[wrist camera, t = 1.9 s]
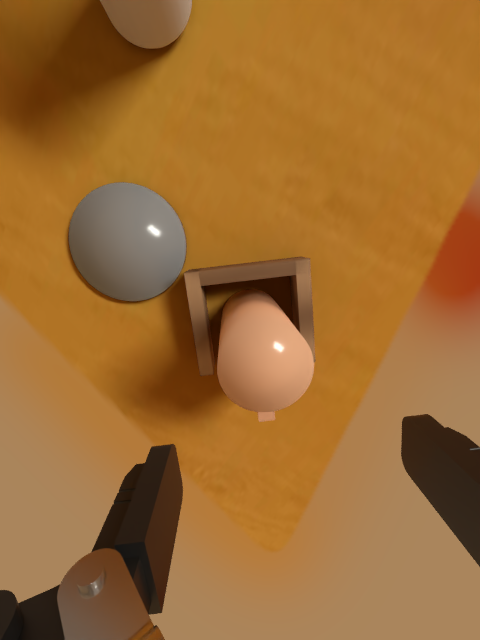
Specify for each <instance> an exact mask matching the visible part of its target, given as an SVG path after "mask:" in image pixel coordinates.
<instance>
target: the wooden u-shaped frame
mask: <svg viewBox="0 0 480 640" xmlns="http://www.w3.org/2000/svg"><path fill="white" fill-rule="evenodd" d="M282 276H290V287H291V302H292V316H293V325H294V326H295V327H296V329H297V330H298V331H299V333H300V334H301V335H302V337H303V338H304V339H305V340H306V342H307V343H308V345H309V347H310V349H311V351H312V355H313V360H314V362H315V345H314V326H313V307H312V288H311V269H310V258H305V257H294V258H286V259H277V260H269V261H260V262H252V263H243V264H235V265H226V266H218V267H209V268H200V269H192V270H188V271H186V272H185V273H184V277H185V283H186V290H187V296H188V302H189V309H190V315H191V321H192V327H193V334H194V340H195V346H196V353H197V359H198V365H199V371H200V376H205V375H213V374H214V366H215V358H214V351H213V344H212V337H211V330H210V323H209V316H208V309H207V302H206V295H205V288H204V286H205V285H214V284H222V283H231V282H239V281H248V280H256V279H265V278H274V277H282Z"/></svg>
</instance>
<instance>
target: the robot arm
mask: <svg viewBox="0 0 480 640" xmlns="http://www.w3.org/2000/svg"><path fill="white" fill-rule="evenodd" d="M401 449H402V450H401V451H402V452H401V456H402V461H403V465H404V467H405V470H406V472H407V473H408V475H409V476H410V477H411V479H412V480H413V481H414V483H415V484H416V485H417V486H418V487H419V489H420V490H421V492H422V493H423V494H424V495H425V497H426V498H427V499H428V500H429V502H430V503H431V504H432V505H433V507H434V508H435V510H436V511H437V512H438V513H439V515H440V516H441V517H442V518H443V520H444V521H445V522H446V524H447V525H448V526H449V528H450V529H451V530H452V532H453V533H454V534H455V535H456V537H457V538H458V539H459V541H460V542H461V543H462V544H463V546H464V547H465V548H466V549H467V551H468V552H469V553H470V555H471V556H472V557H473V559H474V560H475V561H476V562H477V564H478V565H479V566H480V447H479V446H477V445H476V444H475V443H474V442H473V441H471V440H470V439H469V438H467V436H464V435H463V434H461V433H459V432H457V431H455V430H453V429H451V428H449V427H447V428H444V427H443V426H442V425H441V424H439V423H438V422H437V421H436V420H435V419H434V418H433V417H431V416H430V415H428V414H424V415H417V416H407V417H404V418H403V421H402V448H401ZM182 496H183V486H182V478H181V473H180V468H179V463H178V457H177V452H176V448H175V445H174V444H170V445H162V446H153V447H151V449H150V452H149V454H148V457H147V460H146V462H145V463H143V464H136V465H135V466H134V467H133V468H132V470H131V471H130V472H129V473H128V474H127V475H126V476H125V478H124V480H123V482H122V485H121V487H120V489H119V493H118V494H117V496H116V498H115V500H114V505H112V507H111V509H110V512H109V514H108V516H107V518H106V521H105V523H104V525H103V527H102V530H101V532H100V534H99V536H98V539H97V541H96V543H95V545H94V548H93V550H92V552H91V553H89V554H88V555H86V556H84V557H83V558H81V559H80V560H79V561H78V562H77V563H75V565H73V566H72V567H71V569H70V570H69V571H68V572H67V574H66V575H65V577H64V578H63V580H62V582H61V584H60V585H58V586H56V587H54V588H52V589H50V590H48V591H45V592H43V593H41V594H39V595H36V596H34V597H32V598H29V599H27V600H25V601H23V602H20V603H18V602H17V600H16V597H15V595H14V594H13V593H12V592H10V591H7V590H0V640H165V639H164V637H163V635H162V633H161V631H160V630H159V628H158V627H157V626H154V625H153V623H152V622H151V619H150V617H149V614H157V613H162V609H163V604H164V598H165V592H166V587H167V581H168V576H169V570H170V565H171V559H172V554H173V548H174V543H175V537H176V532H177V526H178V520H179V515H180V509H181V504H182Z"/></svg>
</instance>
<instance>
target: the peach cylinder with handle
mask: <svg viewBox="0 0 480 640" xmlns="http://www.w3.org/2000/svg"><path fill="white" fill-rule="evenodd" d="M313 371H314V360H313V355H312V351H311V349H310V347H309V345H308V343H307V342H306V340H305V339H304V338H303V337H302V335H301V334H300V333H299V331H298V330H297V329H296V327H295V326H294V325H293V324H292V322H291V321H290V320H289V318H288V317H287V316H286V315H285V313H284V312H283V311H282V309H281V308H280V307H279V306H278V304H277V303H276V302H275V300H274V299H273V298H272V297H271V296H270V295H269V294H267V293H265V292H263V291H261V290H257V289H246V290H242V291H239V292H237V293H235V294H234V295H233V296H231V297H230V298H229V299H228V301H227V302H226V304H225V306H224V308H223V311H222V319H221V330H220V341H219V352H218V363H217V375H218V380H219V383H220V385H221V387H222V389H223V391H224V393H225V394H226V395H227V396H228V397H229V398H230V400H232V401H233V402H234V403H235V404H237V405H239V406H240V407H242V408H245V409H247V410H250V411H255V412H257V413H258V419H259V422H261V421H270V420H275V413H274V411H277V410H280V409H283V408H285V407H288V406H289V405H291V404H293V403H294V402H295V401H297V400H298V399H299V398H300V397H301V396H302V395H303V394H304V392H305V391H306V390H307V388H308V386H309V384H310V382H311V380H312V376H313Z"/></svg>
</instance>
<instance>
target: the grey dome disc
mask: <svg viewBox="0 0 480 640" xmlns="http://www.w3.org/2000/svg"><path fill="white" fill-rule="evenodd" d="M69 246H70V251H71V254H72V258H73V260H74V262H75V265H76V267H77V268H78V270H79V272H80V273H81V274H82V276H83V277H84V278H85V279H86V280H87V281H88V282H89V283H90V284H91V285H92V286H93V287H94V288H96V289H97V290H98V291H100V292H102V293H103V294H105V295H107V296H110V297H112V298H115V299H119V300H124V301H141V300H146V299H149V298H152V297H155V296H157V295H159V294H160V293H162V292H163V291H165V290H166V289H167V288H169V287H170V286H171V285H172V284H173V283H174V281H175V280H176V279H177V277H178V276H179V274H180V272H181V270H182V268H183V265H184V262H185V258H186V248H187V245H186V236H185V232H184V228H183V226H182V223H181V221H180V219H179V217H178V215H177V214H176V212H175V211H174V209H173V208H172V207H171V206H170V204H169V203H168V202H167V201H166V200H164V199H163V198H162V197H161V196H159V195H158V194H157V193H155V192H153V191H152V190H150V189H148V188H146V187H143V186H140V185H137V184H132V183H124V182H123V183H112V184H107V185H104V186H101V187H99V188H97V189H95V190H93V191H92V192H91V193H89V194H88V195H87V196H86V197H85V198H84V199H83V200H82V201H81V202H80V203H79V205H78V206H77V208H76V210H75V211H74V213H73V216H72V219H71V222H70V227H69Z"/></svg>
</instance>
